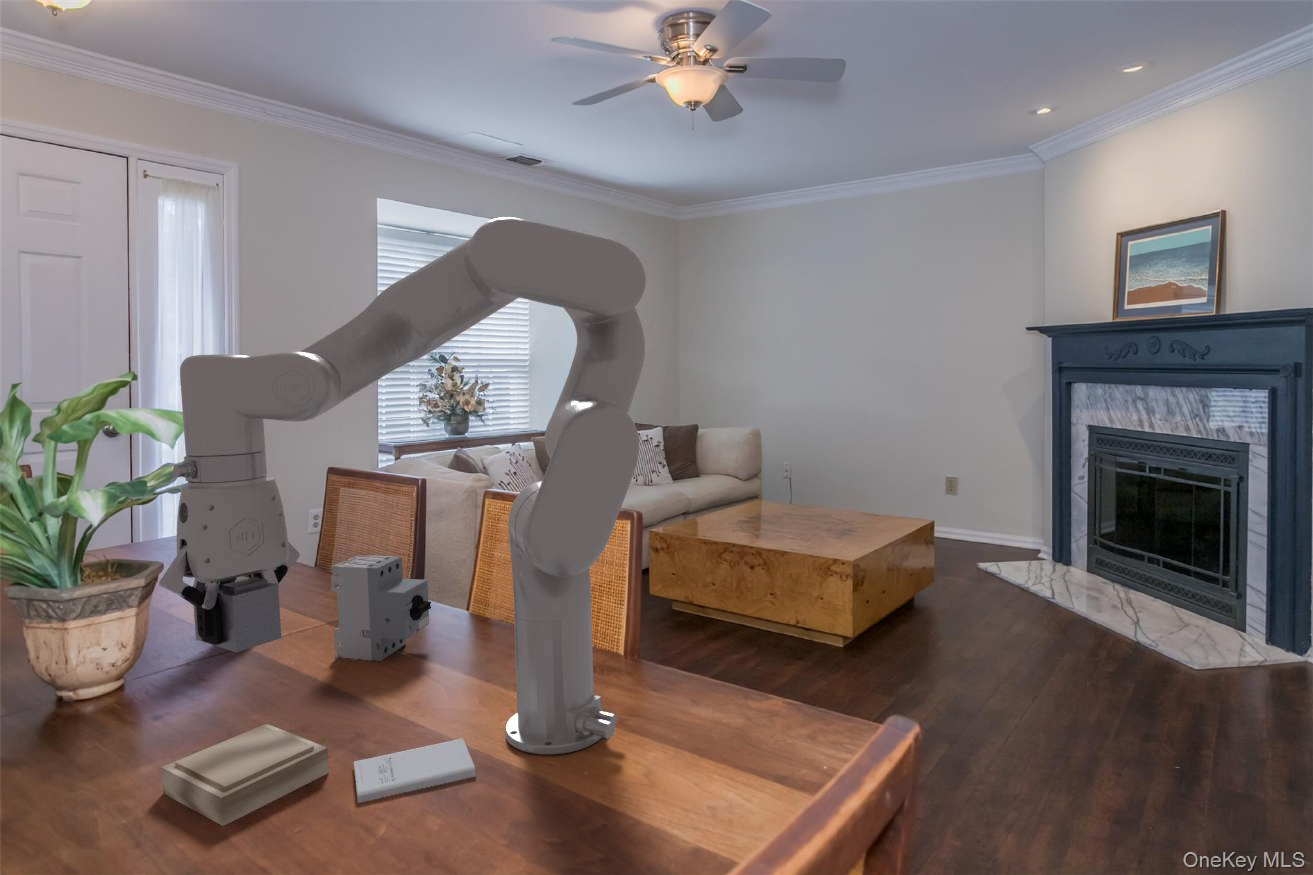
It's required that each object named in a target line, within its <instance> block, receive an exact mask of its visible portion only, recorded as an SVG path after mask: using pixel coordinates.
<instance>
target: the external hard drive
mask: <svg viewBox="0 0 1313 875" xmlns="http://www.w3.org/2000/svg"><path fill="white" fill-rule="evenodd" d="M470 754H471V753H470V752H469V749H468V747H467V744H466V742H465V740H464V738H458V739H454V740H453V739H452V740H449V741H444V742H439V743H435V744H430V745H425V746H422V747H417V748H411V749H406V750H402V751H397V752H392V753H388V754H384V755H378V756H374V757H369V758H364V759H360V760H356V761H353V762H352V763H353V772H354V780H355V781H356V782H355V781H354V782H355V789H356V799H357V800H356V801H357V804H361V803H365V802H370V801H374V799H375V800H378V799H383V798H382V797H384V798H387V797H386V796H388V795H393V796H395V795H394V794H397V795H399V794H398V793H401V794H403V793H402V792H406V793H410V792H413V791H412V790H415V791H418V790H417V789H419V790H422V789H421V788H423V789H427V788H426V787H428V788H432V787H436V786H435V785H437V786H439V785H440V784H441V785H445V784H444V783H446V784H450V783H454V782H458V781H459V782H460V781H462V779H463V780H467V778H468V779H470V778H475V777H477V774H476V771H477V770H476V766H475V764H474V760H473V759H472V757H471V755H470ZM449 782H450V783H449ZM431 786H432V787H431ZM409 791H410V792H409ZM388 797H389V796H388Z"/></svg>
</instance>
